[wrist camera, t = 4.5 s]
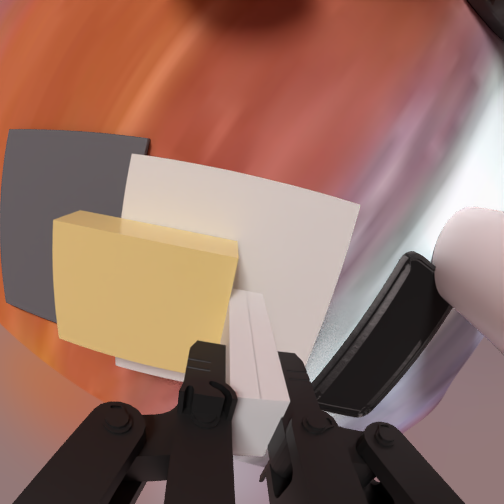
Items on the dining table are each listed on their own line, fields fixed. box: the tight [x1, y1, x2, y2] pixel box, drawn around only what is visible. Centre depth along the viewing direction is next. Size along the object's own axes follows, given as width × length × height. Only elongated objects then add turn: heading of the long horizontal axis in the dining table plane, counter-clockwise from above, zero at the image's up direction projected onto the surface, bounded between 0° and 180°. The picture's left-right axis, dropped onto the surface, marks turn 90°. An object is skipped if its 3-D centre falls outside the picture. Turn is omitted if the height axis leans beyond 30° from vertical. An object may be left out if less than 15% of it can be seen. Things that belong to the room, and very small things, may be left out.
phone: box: [311, 251, 453, 417], centre depth 20 cm, size 8×1×15 cm
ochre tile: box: [52, 210, 239, 373], centre depth 12 cm, size 8×6×2 cm
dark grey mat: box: [0, 129, 150, 323], centre depth 16 cm, size 12×14×1 cm
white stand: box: [115, 154, 360, 382], centre depth 16 cm, size 11×12×4 cm
